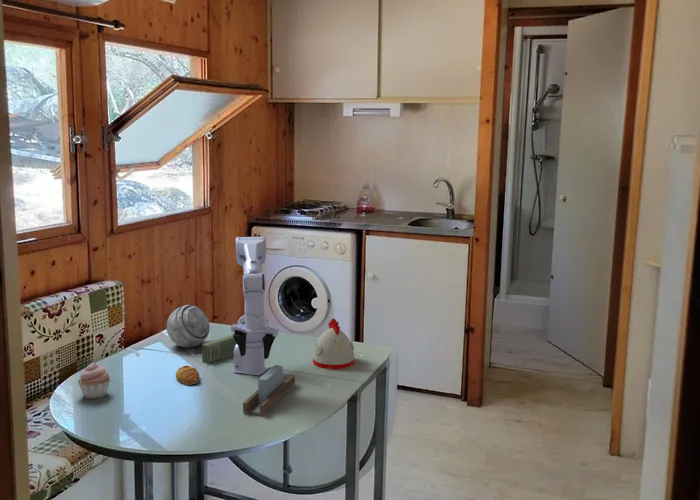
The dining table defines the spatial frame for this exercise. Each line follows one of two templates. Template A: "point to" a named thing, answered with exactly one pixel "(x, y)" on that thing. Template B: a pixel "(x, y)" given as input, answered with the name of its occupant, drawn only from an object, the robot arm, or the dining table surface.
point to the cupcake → (94, 381)
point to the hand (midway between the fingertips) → (254, 356)
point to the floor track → (262, 408)
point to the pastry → (187, 375)
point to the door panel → (269, 382)
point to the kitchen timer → (333, 349)
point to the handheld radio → (218, 349)
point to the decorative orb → (188, 326)
